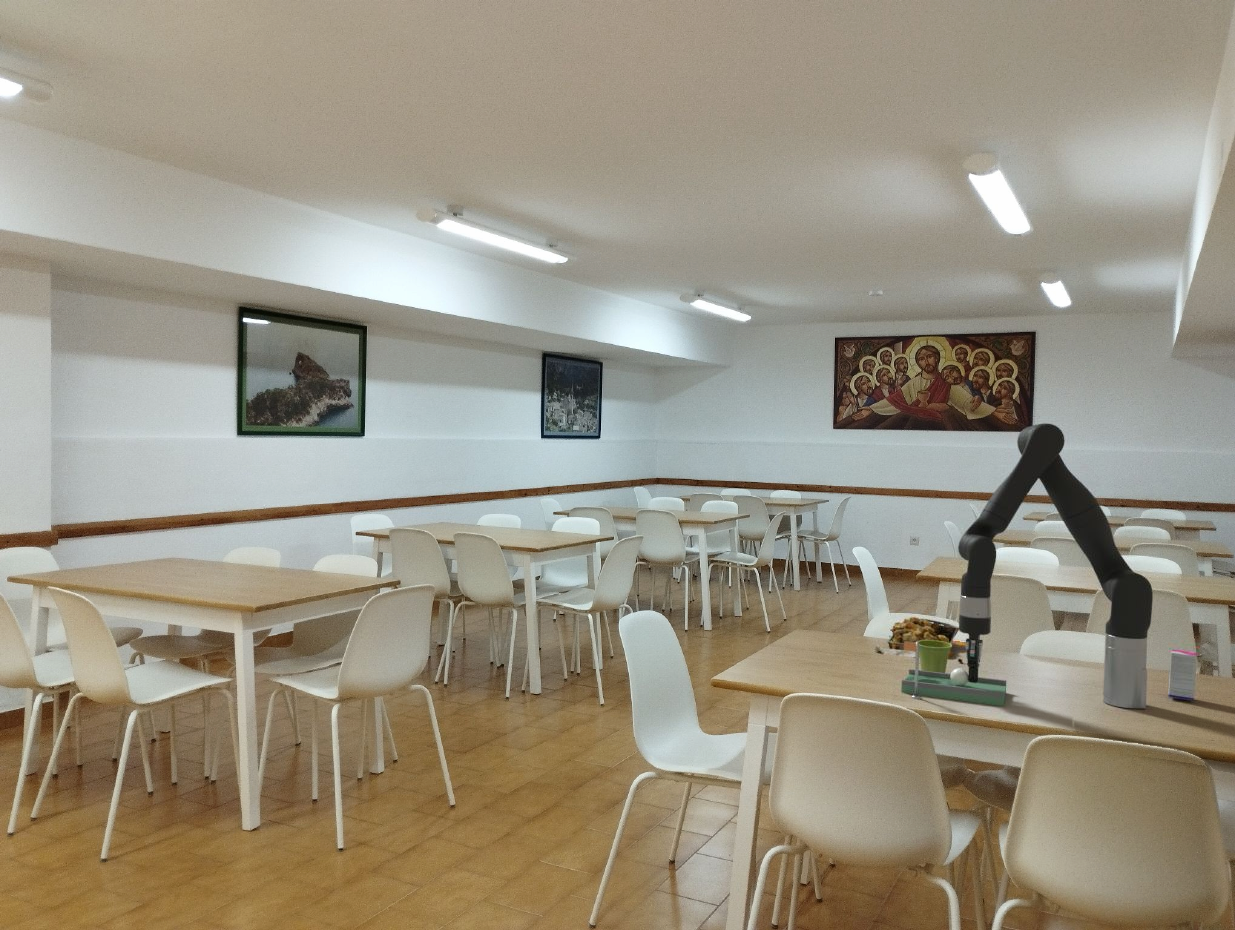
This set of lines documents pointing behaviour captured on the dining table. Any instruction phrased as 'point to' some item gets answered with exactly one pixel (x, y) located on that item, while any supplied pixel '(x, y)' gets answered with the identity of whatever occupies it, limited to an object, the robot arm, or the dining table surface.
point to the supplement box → (1182, 674)
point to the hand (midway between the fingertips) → (973, 682)
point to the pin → (915, 647)
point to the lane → (956, 688)
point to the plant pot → (934, 655)
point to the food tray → (919, 635)
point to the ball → (959, 677)
